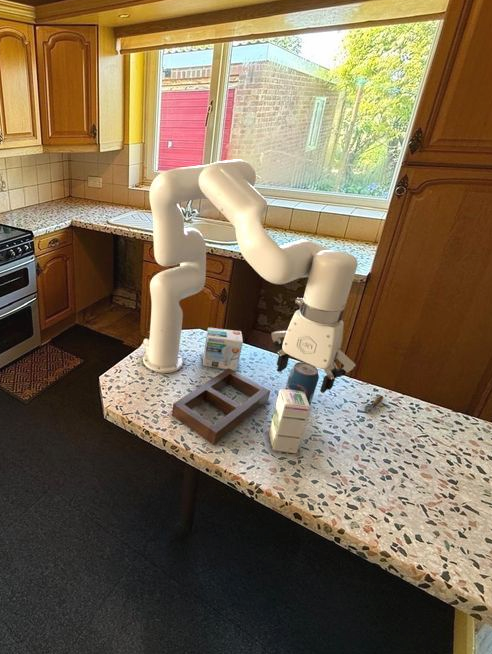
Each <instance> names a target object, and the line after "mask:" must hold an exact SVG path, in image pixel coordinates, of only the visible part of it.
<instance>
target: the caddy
mask: <svg viewBox="0 0 492 654" xmlns="http://www.w3.org/2000/svg"><path fill="white" fill-rule="evenodd" d="M227 386H230V387H232V388H233V389H235V390H237V391H239V392H240V393H242V394H244V395H246V396H247V397H249V398H247V399H246V400H245V401H244V402H243V403H241V404H240V403H238V402H237V401H235V400H233V399H232V398H230V397H228V396H226V395H225V394H223V393H222V392H220V391H221V390H222V389H225V387H227ZM270 395H271V390H270V389H268V388H266V387H265V386H262V385H261V384H259V383H257V382H255V381H253V380H252V379H250V378H248V377H246V376H244V375H242V374H240V373H239V372H237V371H235V370H231V369H229V368H228V369H224V370H223V371H222V372H220V373H219V374H217V375H215V376H214V377H212V378H211V379H209V380H208V381H206V382H205V383H203V384H201V385H200V386H198V387H197V388H195V389H194V390H192V391H191V392H189V393H188V394H186V395H184V396H183V397H181V398H180V399H178V400H177V401H175V402H173V404H172V411H171V416H172V417H173V418H175V419H176V420H178V421H179V422H181V423H183V424H184V425H185V426H187V427H188V428H189V429H190V430H191V431H193V432H195V433H196V434H198V435H199V436H200V437H202V438H203V439H205V440H206V441H207V442H209V443H210V444H212V445H213V446H214V445H216V444H217V443H219V442H220V441H221V440H222V439H224V438H225V437H226V436H227V435H229V434H230V433H231V432H232V431H234V430H235V429H236V428H237V427H238V426H240V425H241V424H242V423H243V422H245V421H246V420H247V419H248V418H250V417H251V416H252V415H253V414H254V413H256V412H257V411H258V410H260V409H261V408H262V407H263V406H265V405H266V404H267V403H268V402H269V398H270ZM203 402H206V403H207V404H209V405H210V406H212V407H213V408H215V409H217V410H218V411H220V413H223V414H224V415H225V416H224V417H222V418H221V419H219V421H217V422H216V423H215V424H214V423H212V422H211V421H209V420H207V418H205V417H204V416H202V415H201V414H199V413H197V412H196V411H195V410H194V409H196V407H198V406H199V405H201V404H202V403H203Z"/></svg>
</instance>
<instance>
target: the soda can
mask: <svg viewBox="0 0 492 654" xmlns="http://www.w3.org/2000/svg"><path fill="white" fill-rule="evenodd" d="M318 369H319V368H317V367H315V366H313V365H310V364H308V363H306V362H303V361H299V362H296V363H295V364H294V365H293V366H292V367H291V368H290V370H289V374H288V377H287V381H286V384H285V388H284V389H286V390H296V391H302V392H304V393H305V395H306V398H307V400H308V403H309V406H310V407H311V404H312V402H313V398H314V394H315V392H316V388H317V385H318V382H319V379H320V375H319V370H318Z"/></svg>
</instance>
